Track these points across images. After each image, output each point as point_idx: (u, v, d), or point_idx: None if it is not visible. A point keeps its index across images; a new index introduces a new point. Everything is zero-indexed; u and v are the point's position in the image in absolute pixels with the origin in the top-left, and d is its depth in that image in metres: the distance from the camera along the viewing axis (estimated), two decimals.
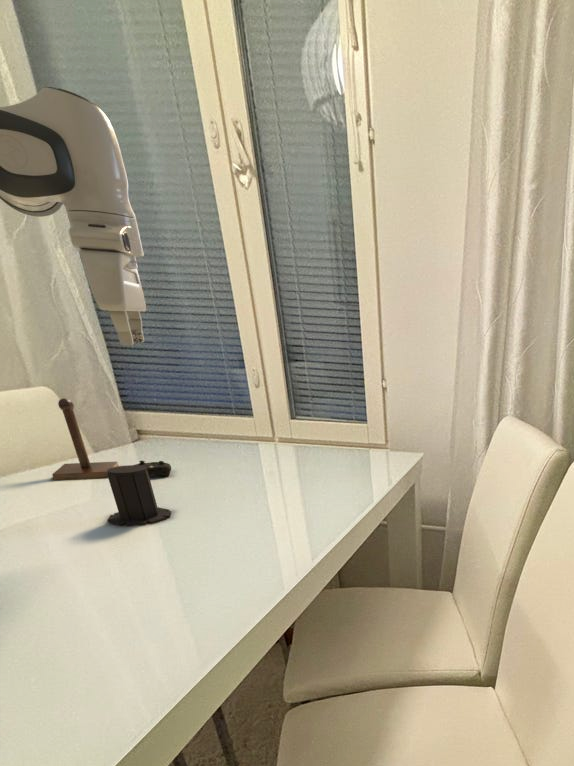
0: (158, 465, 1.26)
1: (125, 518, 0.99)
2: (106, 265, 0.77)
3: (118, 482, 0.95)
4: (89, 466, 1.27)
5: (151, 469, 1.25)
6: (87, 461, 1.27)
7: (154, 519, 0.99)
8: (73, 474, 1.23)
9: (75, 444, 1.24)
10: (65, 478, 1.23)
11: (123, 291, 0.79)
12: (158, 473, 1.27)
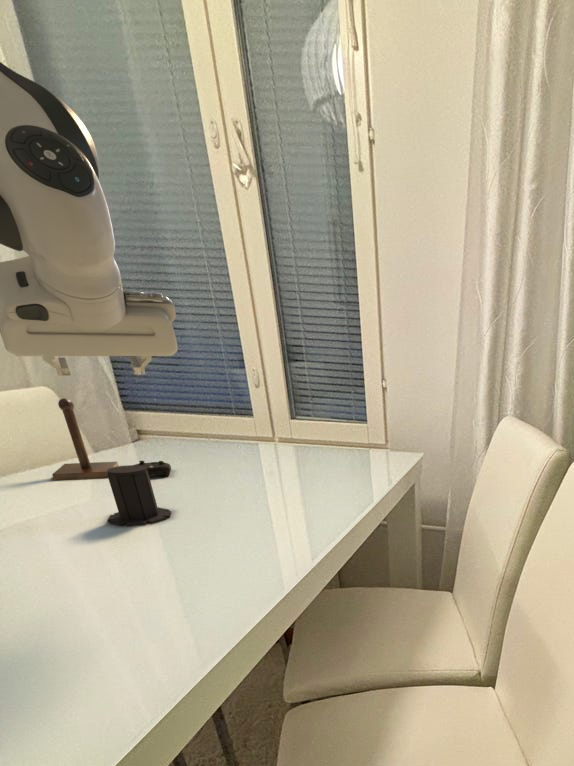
0: (158, 465, 1.26)
1: (125, 518, 0.99)
2: None
3: (118, 482, 0.95)
4: (89, 466, 1.27)
5: (151, 469, 1.25)
6: (87, 461, 1.27)
7: (154, 519, 0.99)
8: (73, 474, 1.23)
9: (75, 444, 1.24)
10: (65, 478, 1.23)
11: (7, 344, 0.69)
12: (158, 473, 1.27)
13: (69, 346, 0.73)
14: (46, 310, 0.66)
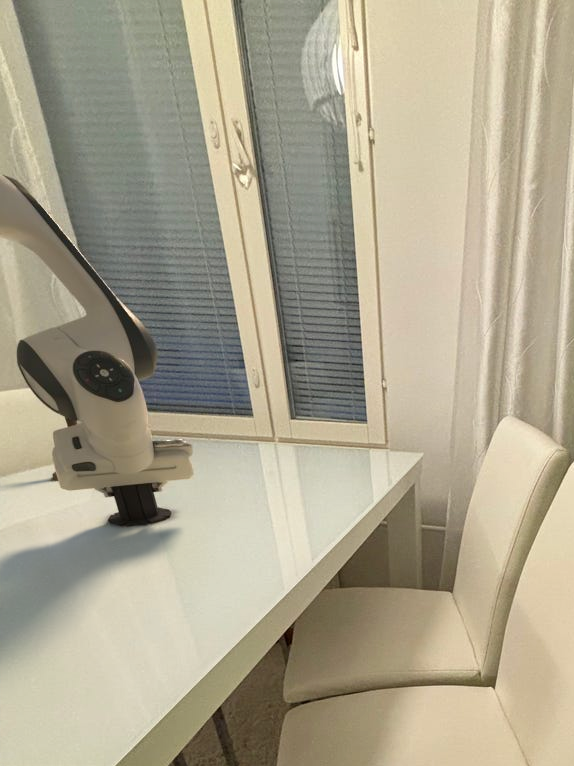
0: None
1: (125, 518, 0.99)
2: (56, 466, 0.86)
3: None
4: None
5: None
6: None
7: (154, 519, 0.99)
8: None
9: None
10: None
11: (62, 485, 0.88)
12: None
13: (109, 481, 0.92)
14: (94, 465, 0.85)
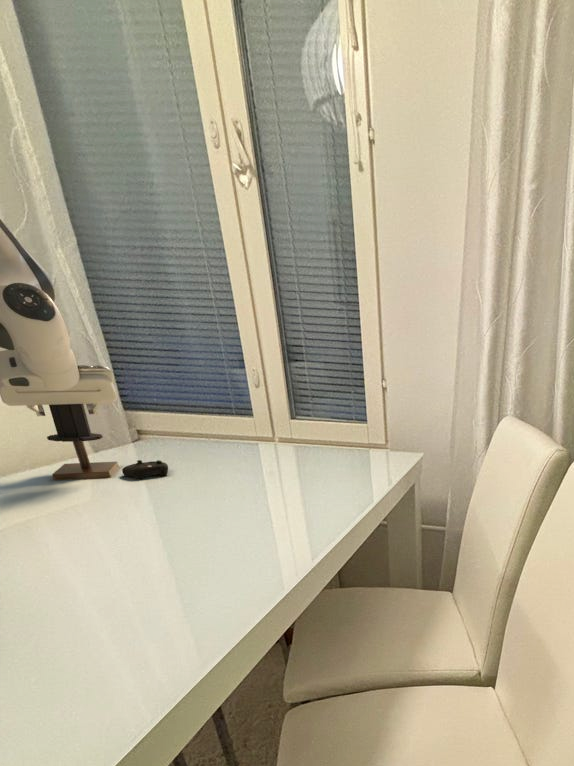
0: (156, 464, 1.27)
1: (61, 436, 1.21)
2: None
3: (56, 404, 1.18)
4: (89, 466, 1.27)
5: (150, 468, 1.25)
6: (87, 461, 1.27)
7: (85, 437, 1.22)
8: (73, 474, 1.23)
9: (75, 444, 1.24)
10: (65, 478, 1.23)
11: (3, 399, 1.10)
12: (156, 472, 1.27)
13: (43, 399, 1.13)
14: (27, 380, 1.06)
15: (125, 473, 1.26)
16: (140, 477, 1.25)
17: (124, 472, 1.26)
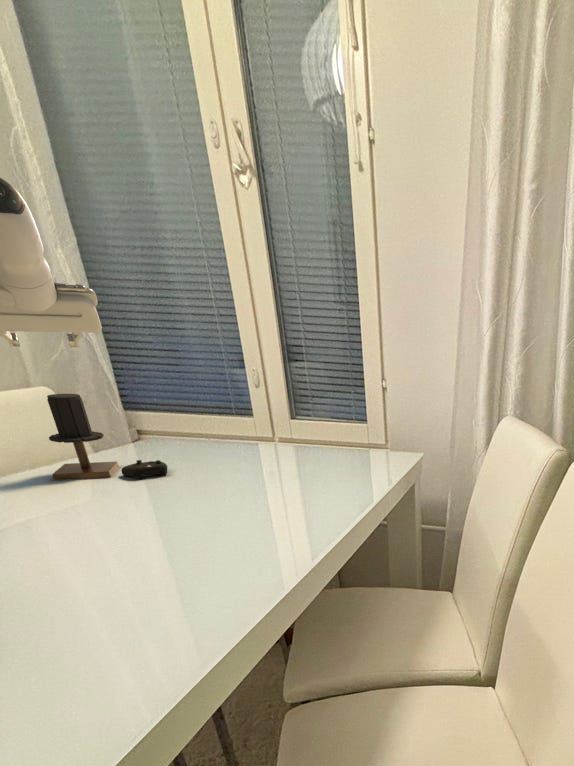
0: (155, 464, 1.27)
1: (63, 436, 1.22)
2: None
3: (56, 405, 1.18)
4: (89, 466, 1.27)
5: (149, 468, 1.25)
6: (87, 461, 1.27)
7: (87, 438, 1.23)
8: (73, 474, 1.23)
9: (75, 444, 1.24)
10: (65, 478, 1.23)
11: None
12: (156, 472, 1.27)
13: (16, 323, 0.99)
14: None
15: (124, 473, 1.26)
16: (140, 477, 1.25)
17: (123, 472, 1.26)
